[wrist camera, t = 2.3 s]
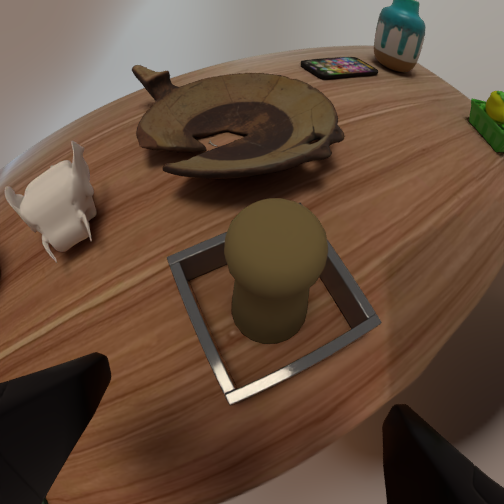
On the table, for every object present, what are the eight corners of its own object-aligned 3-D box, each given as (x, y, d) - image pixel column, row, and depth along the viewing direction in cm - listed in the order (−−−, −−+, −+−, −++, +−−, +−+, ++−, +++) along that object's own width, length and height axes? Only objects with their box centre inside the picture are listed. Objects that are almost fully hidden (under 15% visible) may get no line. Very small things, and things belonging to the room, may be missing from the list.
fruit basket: (512, 157, 34) (536, 117, 25) (494, 157, 33) (520, 111, 24) (479, 119, 40) (497, 79, 30) (457, 116, 39) (476, 72, 29)
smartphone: (298, 60, 44) (355, 56, 47) (297, 64, 45) (354, 60, 48) (323, 76, 40) (381, 71, 43) (322, 80, 41) (380, 75, 44)
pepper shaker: (237, 350, 21) (219, 302, 11) (226, 278, 24) (206, 188, 14) (314, 335, 21) (361, 277, 12) (297, 267, 24) (321, 174, 15)
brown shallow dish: (203, 256, 25) (184, 200, 18) (119, 117, 37) (105, 77, 31) (372, 163, 31) (390, 111, 24) (239, 71, 43) (237, 34, 37)
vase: (361, 56, 50) (373, -13, 33) (396, 61, 51) (411, -2, 34) (385, 75, 45) (402, -3, 28) (421, 81, 46) (441, 11, 29)
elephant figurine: (51, 287, 23) (-3, 242, 16) (41, 211, 28) (5, 165, 21) (125, 241, 26) (85, 179, 18) (100, 173, 31) (73, 119, 23)
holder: (365, 334, 21) (382, 322, 18) (234, 404, 19) (229, 405, 16) (296, 226, 26) (300, 202, 23) (177, 276, 24) (166, 256, 21)
